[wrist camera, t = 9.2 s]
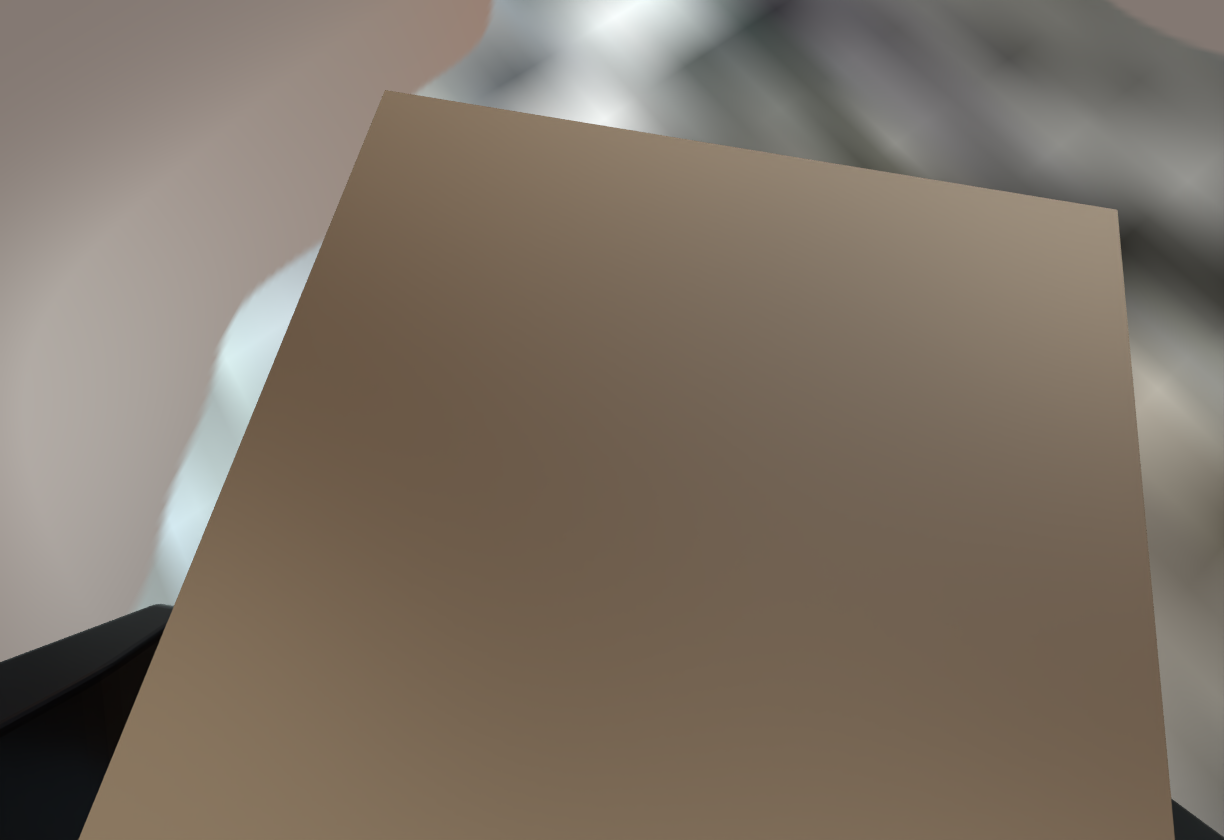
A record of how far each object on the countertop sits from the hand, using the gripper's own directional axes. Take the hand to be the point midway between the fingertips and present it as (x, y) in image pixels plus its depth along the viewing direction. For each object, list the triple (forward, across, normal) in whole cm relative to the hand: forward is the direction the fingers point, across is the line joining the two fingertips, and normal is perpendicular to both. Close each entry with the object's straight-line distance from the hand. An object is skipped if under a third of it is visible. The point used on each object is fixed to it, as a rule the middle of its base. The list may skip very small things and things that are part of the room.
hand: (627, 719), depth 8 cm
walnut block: (+7, 0, +5) cm, 9 cm away
